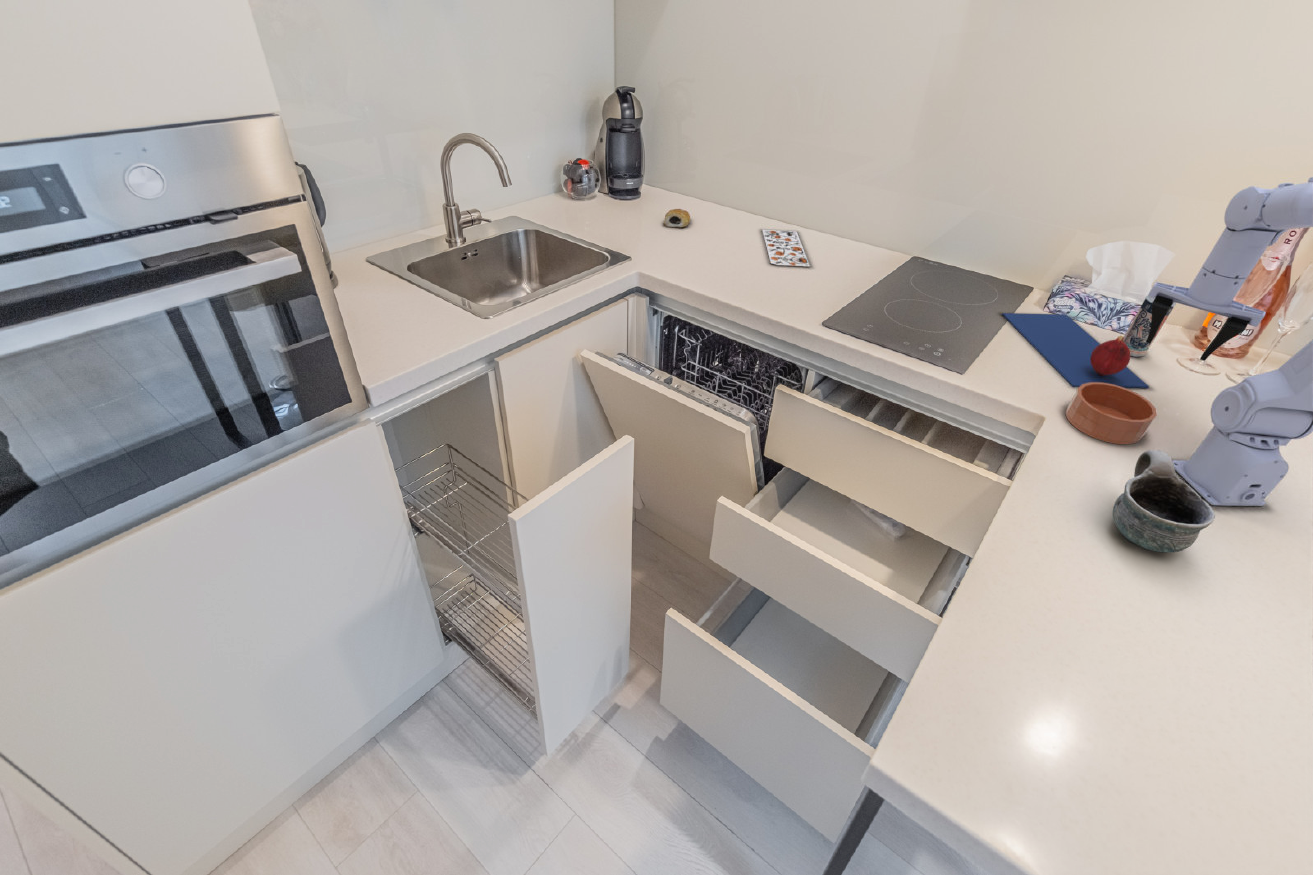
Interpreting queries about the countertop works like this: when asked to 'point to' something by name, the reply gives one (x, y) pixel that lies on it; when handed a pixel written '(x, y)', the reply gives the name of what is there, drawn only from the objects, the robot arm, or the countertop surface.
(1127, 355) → the onion
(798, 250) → the paper towel
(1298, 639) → the countertop surface
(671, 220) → the pastry
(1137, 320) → the beer can
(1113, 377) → the cloth
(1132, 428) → the bowl
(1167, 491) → the mug
